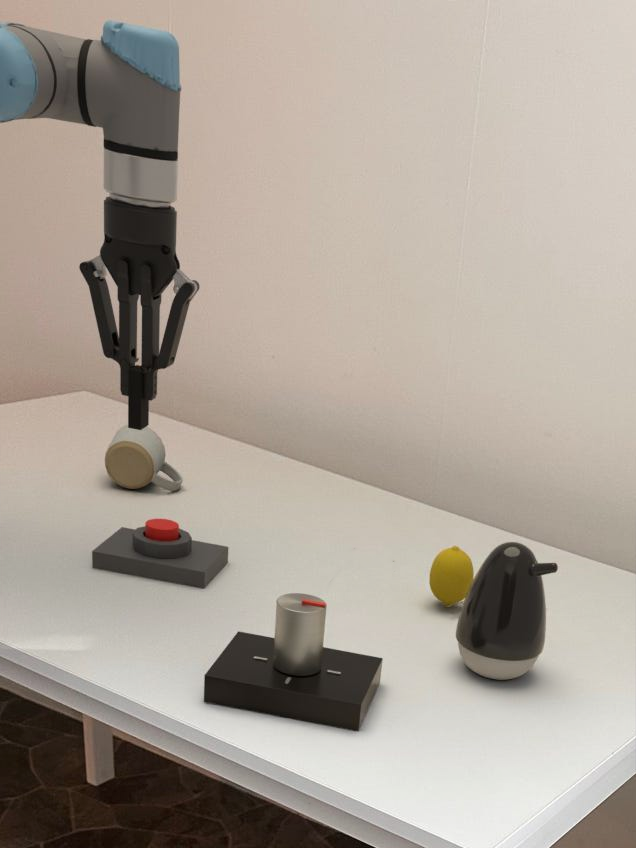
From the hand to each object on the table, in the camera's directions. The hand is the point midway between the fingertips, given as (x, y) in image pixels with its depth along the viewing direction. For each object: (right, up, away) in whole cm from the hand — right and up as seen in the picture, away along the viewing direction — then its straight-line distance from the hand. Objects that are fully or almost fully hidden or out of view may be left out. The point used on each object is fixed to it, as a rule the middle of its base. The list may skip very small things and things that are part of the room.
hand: (138, 426), depth 138 cm
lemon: (+36, -19, +13) cm, 42 cm away
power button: (+1, -11, +8) cm, 14 cm away
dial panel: (+21, -33, -14) cm, 41 cm away
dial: (+21, -31, -15) cm, 40 cm away
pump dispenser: (+42, -29, -1) cm, 51 cm away
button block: (0, -14, +10) cm, 17 cm away
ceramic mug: (-9, +4, +36) cm, 37 cm away
